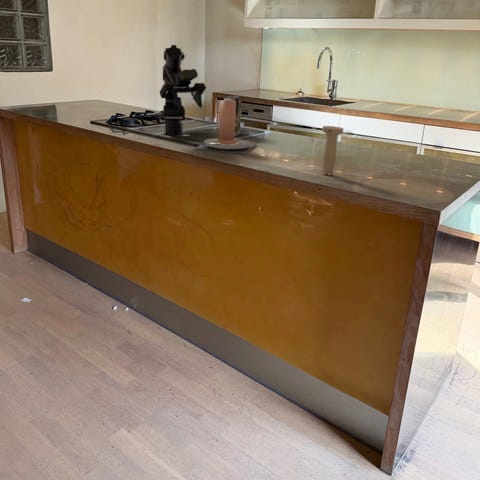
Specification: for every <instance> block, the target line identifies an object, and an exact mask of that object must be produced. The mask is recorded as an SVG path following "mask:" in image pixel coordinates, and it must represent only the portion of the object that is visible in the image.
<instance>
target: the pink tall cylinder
mask: <svg viewBox="0 0 480 480" xmlns="http://www.w3.org/2000/svg"><path fill="white" fill-rule="evenodd" d="M235 115H236V101H232V100H230V99H224V98H223V100H220V101H219V122H218V123H219V129H218V131H219V132H218V137H216V138H217V143H220V144H235V143H236V139H237V138H235V137H236V136H235Z"/></svg>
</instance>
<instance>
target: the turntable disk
mask: <svg viewBox="0 0 480 480" xmlns="http://www.w3.org/2000/svg"><path fill="white" fill-rule="evenodd" d="M217 138H218V137H216V138H214V137H213V138H207V139H205V140H204V141H203V144H204V145H205V146H206V147H209V148H214V149H221V150H241V149H247V148H249V147H250V142H249V141H247V140H244V139H239V138H235V139H236V143H235V144H220V143H217Z"/></svg>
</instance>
